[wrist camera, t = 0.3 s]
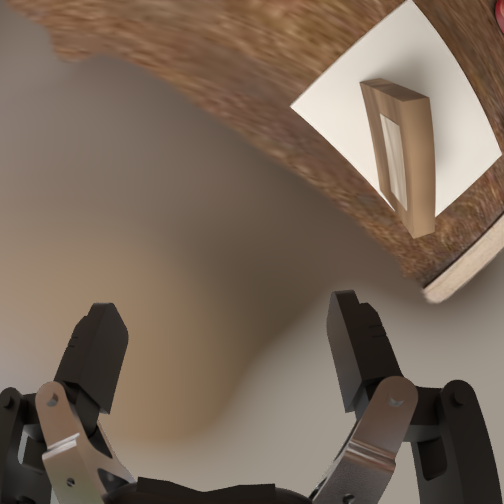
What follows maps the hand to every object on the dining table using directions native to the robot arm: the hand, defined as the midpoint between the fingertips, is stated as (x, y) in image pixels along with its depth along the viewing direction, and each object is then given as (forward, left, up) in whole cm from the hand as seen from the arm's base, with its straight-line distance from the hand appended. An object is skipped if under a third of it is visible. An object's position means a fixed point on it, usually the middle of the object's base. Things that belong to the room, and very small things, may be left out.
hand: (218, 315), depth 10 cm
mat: (-15, +16, -25) cm, 33 cm away
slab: (-10, +13, -24) cm, 29 cm away
